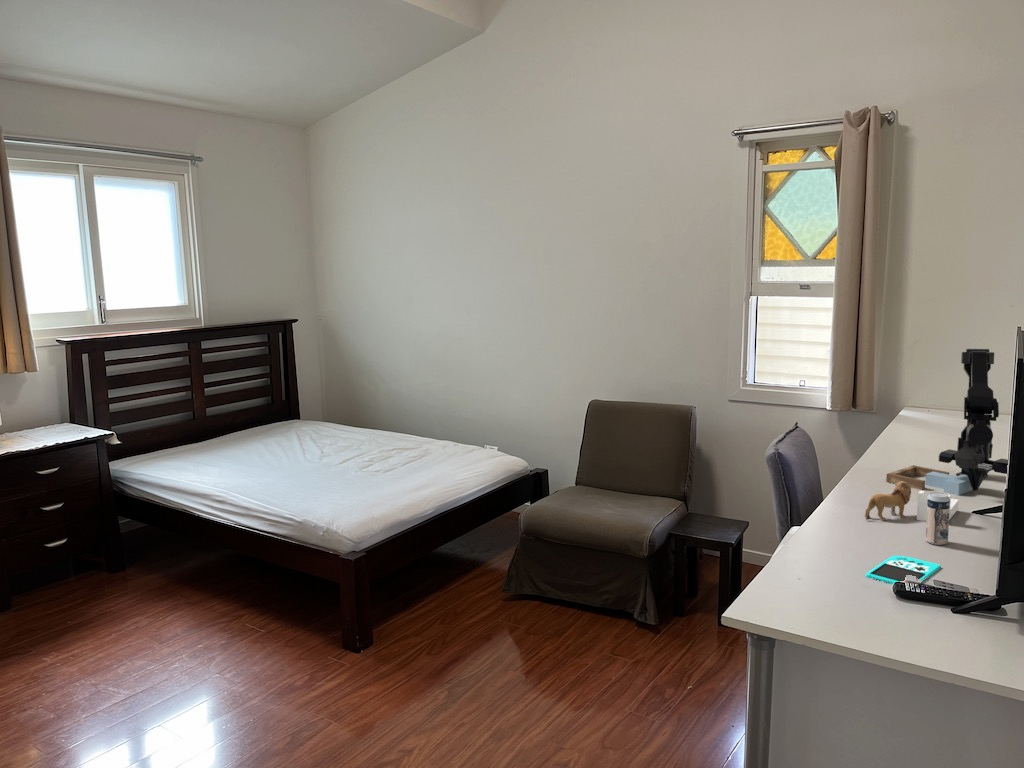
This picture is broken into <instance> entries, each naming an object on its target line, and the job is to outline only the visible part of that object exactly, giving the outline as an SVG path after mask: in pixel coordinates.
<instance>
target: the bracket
mask: <svg viewBox="0 0 1024 768" xmlns="http://www.w3.org/2000/svg"><path fill="white" fill-rule="evenodd" d="M947 495H948V497H949V498H950V509H949V521H950V520H951V519H952V518H953V517H954V515H955V514H956V513H957V511H958V510H959V505H960V504H959V503H960V499H958V498H957V499H956V498H952V494H947ZM927 497H928V496H926V494H925V490H919V491H918V492H917V506H916V521H920V522H921V521H922V522H927V500H928V498H927Z"/></svg>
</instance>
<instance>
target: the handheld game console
mask: <svg viewBox="0 0 1024 768" xmlns="http://www.w3.org/2000/svg"><path fill="white" fill-rule="evenodd" d="M939 569H941V564H939V563H935V562H930V561H926V560H922V559H919V558H914V557H911V556H903V555H891V556H889V558H887V559H885V560H883V561H882V562H881V563H879V564H878V565H877V566H875V567H874V568H872V569H871V570H869V571H868V572H866V573H865V576H866V577H865V578H867V577H868V578H867V579H870V578H874V579H873V580H875V579H876V580H875V581H877V580H879V581H878V582H881V581H883V582H882V583H885V582H888V583H887V584H889V585H892V584H893V583H895V582H900V581H904V580H905V577H906V575H912V576H916V577H917V578H918V579H920V580H923V579H925V578H927V577H928V578H930V576H932V575H933V574H934V573H936V572H937V571H938V570H939ZM928 578H927V579H928Z"/></svg>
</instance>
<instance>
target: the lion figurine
mask: <svg viewBox="0 0 1024 768" xmlns="http://www.w3.org/2000/svg"><path fill="white" fill-rule="evenodd" d="M894 485H895V486H894V488H893V491H892V492H891V493H888V494H883V493H875V494H873V495H872V496H871V497H870V499H869V501H868V506H867V508H866V509H865V511H864V512H865V513H864V518H865V520H867V521H868V520H869V519H870V518H871V516H870V512H871V511H872V510H873V509H875V507H876V509H877V516H878V517H879V519H880V520H881V521H884V522H885V521H887V518H886V517H884V516H883V512H884V509H885V508H889V509H890V515H892V516H896V514H897V513H896V508H897V507H898V510H899V511H898V516H899V517H900V518H902V519H903V518H905V517H906V515H904V511H905V505H908V504H909V502H910V501H911V500H910V499H911V495H912V488H911V487H910V485H909V484H908V483H907V482H903V481H900V482H899V483H897V484H894Z"/></svg>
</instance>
